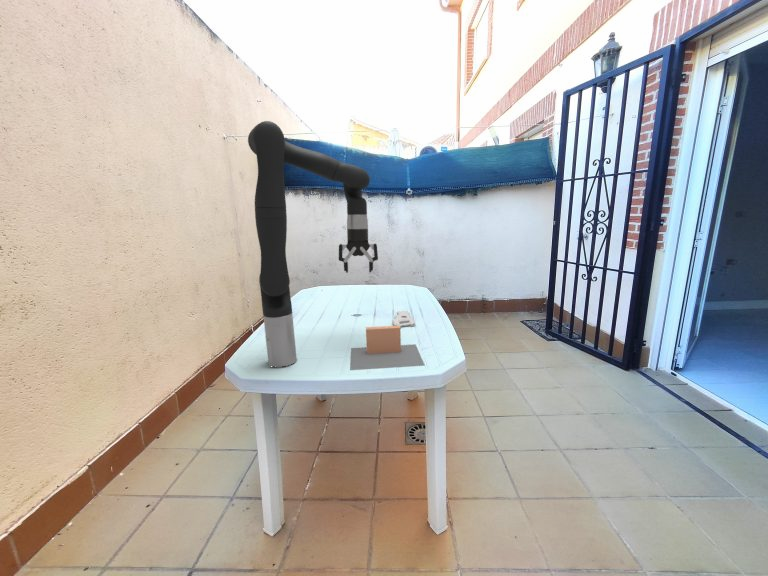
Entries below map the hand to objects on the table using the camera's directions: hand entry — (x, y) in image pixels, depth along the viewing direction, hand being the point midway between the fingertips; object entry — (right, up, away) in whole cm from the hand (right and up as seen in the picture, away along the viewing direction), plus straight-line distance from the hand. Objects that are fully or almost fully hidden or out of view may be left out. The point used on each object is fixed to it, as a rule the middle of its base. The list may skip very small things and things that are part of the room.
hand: (358, 272), depth 126 cm
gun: (+18, -22, +29) cm, 40 cm away
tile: (+9, -29, -4) cm, 30 cm away
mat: (+10, -30, -8) cm, 32 cm away
